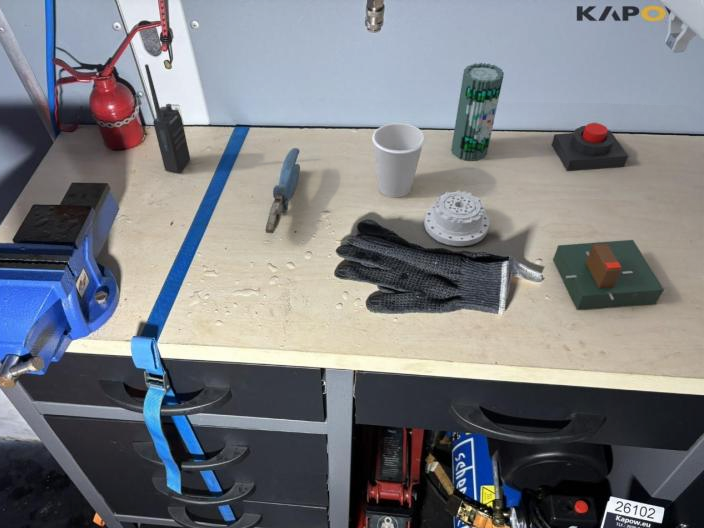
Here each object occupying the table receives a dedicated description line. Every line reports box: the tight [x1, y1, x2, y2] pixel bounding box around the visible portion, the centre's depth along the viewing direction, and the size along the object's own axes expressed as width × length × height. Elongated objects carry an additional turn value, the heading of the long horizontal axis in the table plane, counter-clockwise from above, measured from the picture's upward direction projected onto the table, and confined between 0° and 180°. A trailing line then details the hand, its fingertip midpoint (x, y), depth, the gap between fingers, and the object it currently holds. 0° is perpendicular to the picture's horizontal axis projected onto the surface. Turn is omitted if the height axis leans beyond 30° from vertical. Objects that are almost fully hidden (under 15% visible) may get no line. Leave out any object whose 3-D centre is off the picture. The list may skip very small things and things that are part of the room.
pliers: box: [265, 147, 301, 234], centre depth 99 cm, size 20×2×6 cm, turn 168°
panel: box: [552, 239, 665, 311], centre depth 85 cm, size 12×11×3 cm
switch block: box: [551, 125, 629, 172], centre depth 105 cm, size 10×8×4 cm
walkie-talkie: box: [144, 63, 191, 174], centre depth 103 cm, size 5×3×20 cm
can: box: [450, 62, 505, 162], centre depth 104 cm, size 6×6×15 cm
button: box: [582, 122, 609, 143], centre depth 103 cm, size 4×4×2 cm
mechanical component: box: [423, 189, 490, 247], centre depth 94 cm, size 10×4×10 cm
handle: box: [586, 244, 622, 288], centre depth 82 cm, size 5×2×4 cm, turn 3°
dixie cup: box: [371, 122, 426, 199], centre depth 100 cm, size 8×8×10 cm
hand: (673, 48), depth 88 cm, fingers closed
